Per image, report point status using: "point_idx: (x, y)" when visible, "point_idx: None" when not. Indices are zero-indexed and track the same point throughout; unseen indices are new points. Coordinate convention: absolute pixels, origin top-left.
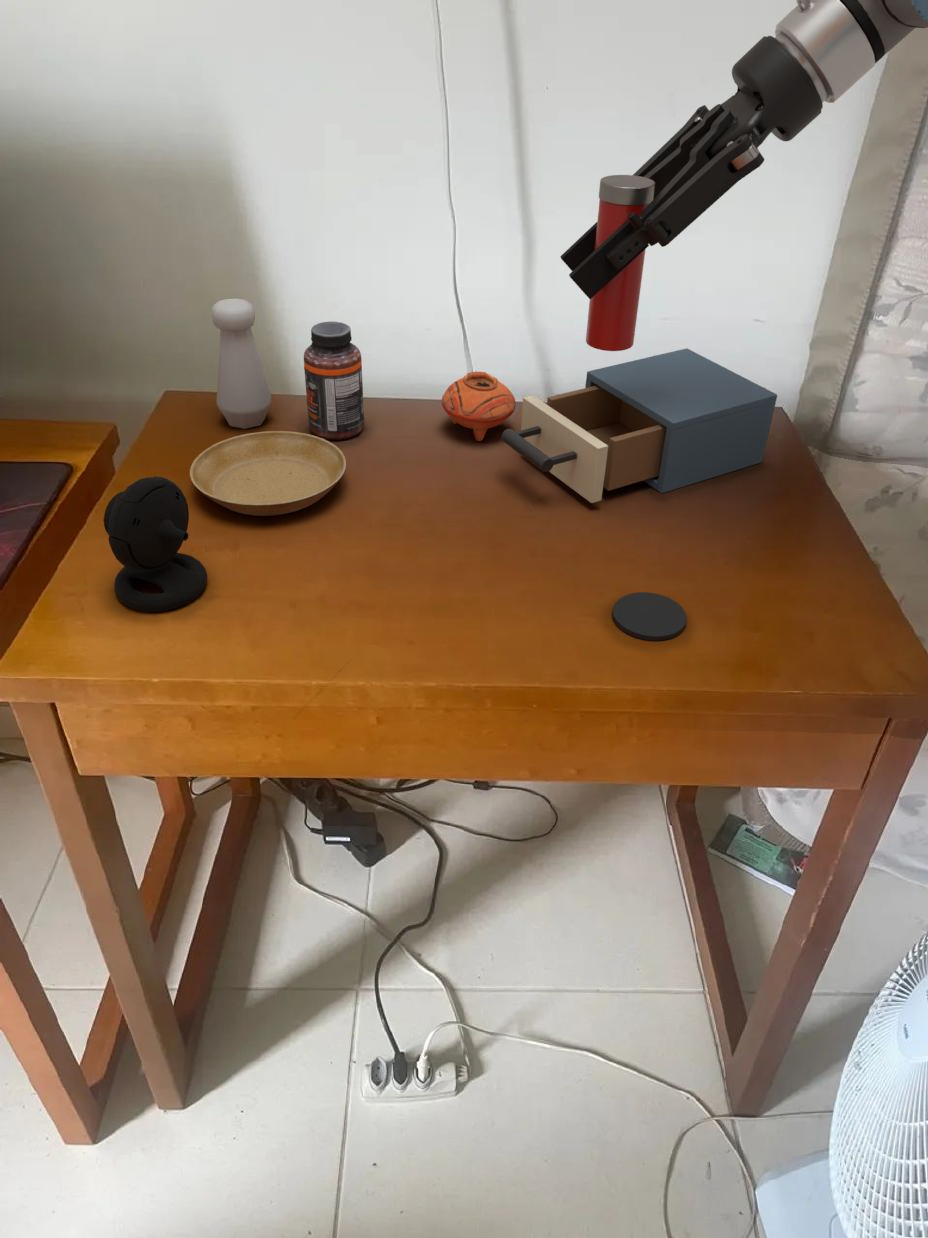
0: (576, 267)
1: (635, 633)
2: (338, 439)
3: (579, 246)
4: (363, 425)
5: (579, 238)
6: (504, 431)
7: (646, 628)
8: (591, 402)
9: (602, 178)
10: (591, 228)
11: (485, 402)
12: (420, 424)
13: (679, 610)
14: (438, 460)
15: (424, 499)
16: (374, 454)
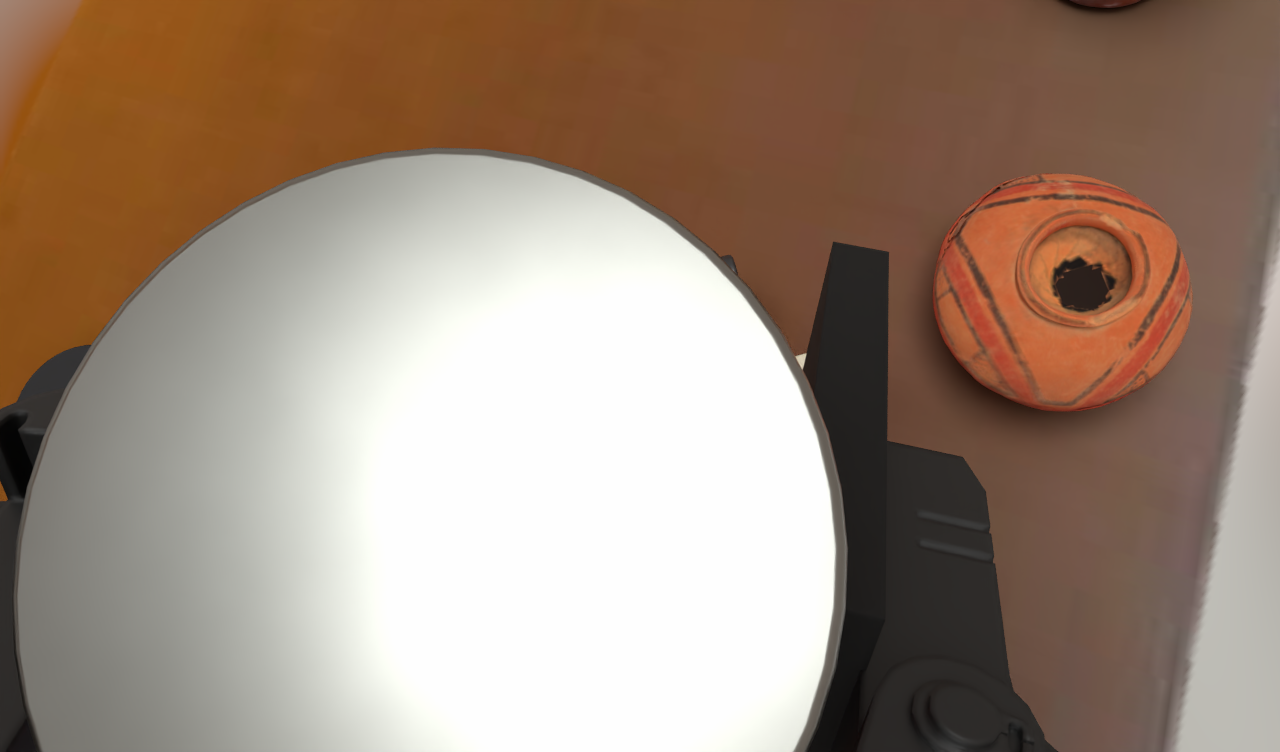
0: (807, 354)
1: (42, 365)
2: None
3: (819, 329)
4: (1086, 2)
5: (886, 338)
6: (728, 258)
7: (43, 391)
8: None
9: (643, 222)
10: (851, 395)
11: (974, 273)
12: (1096, 167)
13: None
14: (864, 168)
15: (673, 94)
16: (932, 19)
